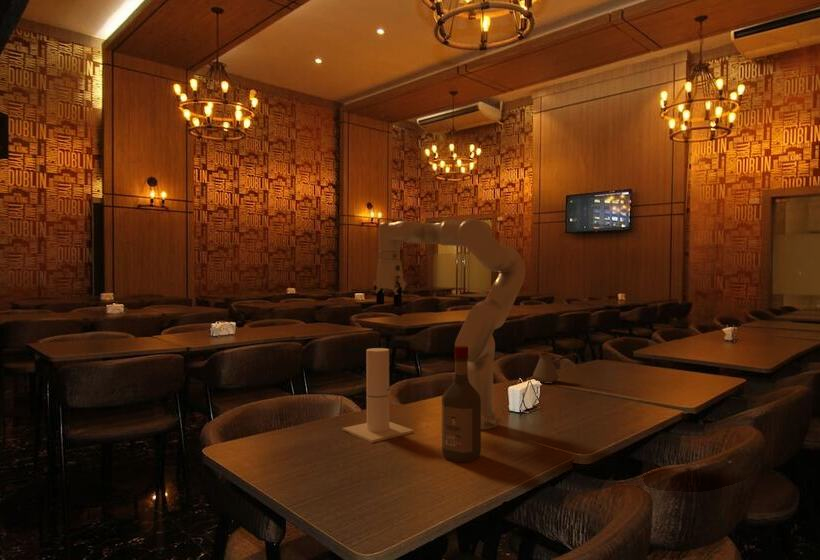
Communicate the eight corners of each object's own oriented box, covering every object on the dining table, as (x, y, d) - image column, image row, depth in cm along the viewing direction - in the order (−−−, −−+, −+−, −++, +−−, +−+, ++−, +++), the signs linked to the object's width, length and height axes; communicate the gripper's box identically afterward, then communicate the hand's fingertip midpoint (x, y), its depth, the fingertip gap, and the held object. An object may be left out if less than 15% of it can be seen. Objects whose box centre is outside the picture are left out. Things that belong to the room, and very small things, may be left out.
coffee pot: (527, 382, 246) (528, 349, 245) (541, 378, 254) (541, 346, 254) (570, 389, 231) (571, 354, 230) (583, 385, 239) (583, 351, 239)
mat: (413, 432, 168) (413, 430, 168) (371, 442, 158) (371, 440, 158) (382, 421, 180) (382, 419, 180) (342, 430, 170) (342, 428, 170)
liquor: (469, 464, 140) (469, 350, 140) (438, 458, 145) (438, 347, 144) (483, 454, 148) (483, 346, 147) (454, 449, 153) (454, 343, 152)
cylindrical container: (392, 426, 172) (392, 348, 171) (384, 433, 165) (384, 351, 165) (372, 424, 174) (371, 347, 174) (363, 430, 167) (362, 350, 167)
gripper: (413, 257, 187) (412, 306, 187) (382, 257, 200) (381, 303, 200) (396, 256, 182) (396, 307, 182) (365, 257, 195) (365, 304, 195)
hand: (388, 305), depth 191 cm, fingers open, 9 cm apart
